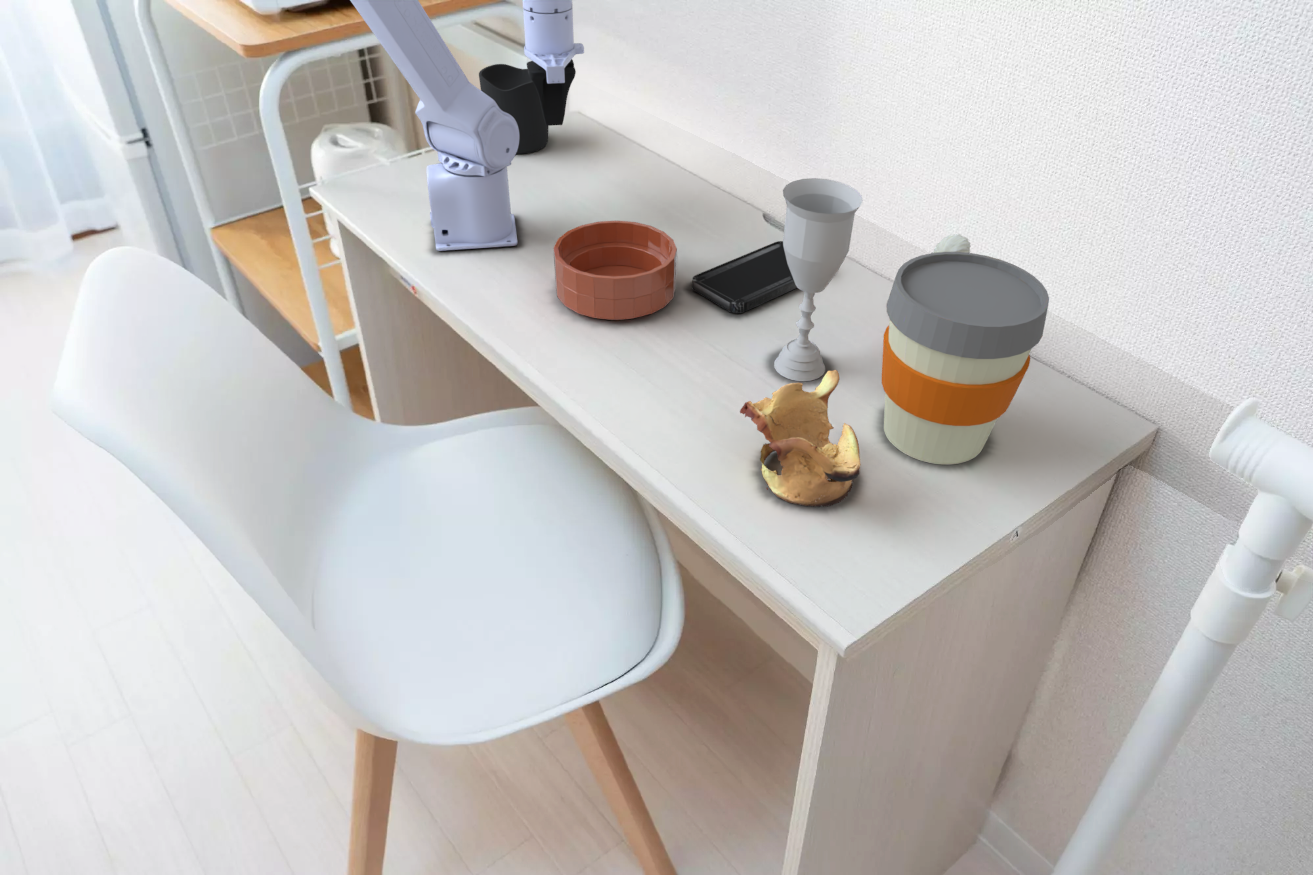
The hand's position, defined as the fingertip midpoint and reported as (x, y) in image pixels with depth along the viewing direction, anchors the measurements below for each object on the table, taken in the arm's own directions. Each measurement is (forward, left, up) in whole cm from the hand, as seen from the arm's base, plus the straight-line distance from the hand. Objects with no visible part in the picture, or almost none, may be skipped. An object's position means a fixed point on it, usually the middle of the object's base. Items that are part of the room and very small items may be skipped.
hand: (553, 123), depth 117 cm
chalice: (+20, -43, -10) cm, 48 cm away
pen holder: (-4, +18, -10) cm, 21 cm away
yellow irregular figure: (+16, -59, -10) cm, 62 cm away
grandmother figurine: (+34, -42, -10) cm, 55 cm away
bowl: (+4, -26, -9) cm, 28 cm away
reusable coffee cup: (+29, -55, -10) cm, 63 cm away
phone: (+21, -26, -9) cm, 34 cm away
